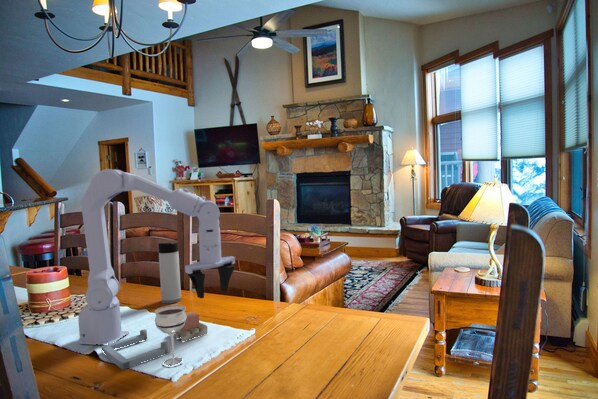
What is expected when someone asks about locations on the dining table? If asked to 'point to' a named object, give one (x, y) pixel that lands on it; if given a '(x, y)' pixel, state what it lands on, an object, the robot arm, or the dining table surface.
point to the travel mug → (169, 273)
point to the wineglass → (171, 325)
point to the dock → (135, 360)
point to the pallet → (191, 332)
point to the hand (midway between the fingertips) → (212, 294)
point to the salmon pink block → (191, 321)
